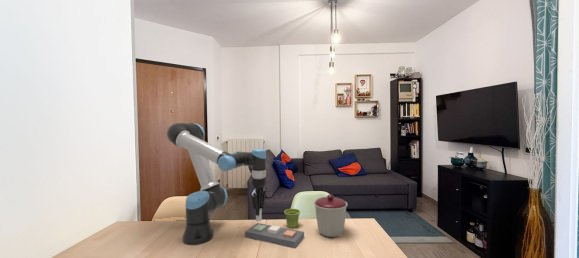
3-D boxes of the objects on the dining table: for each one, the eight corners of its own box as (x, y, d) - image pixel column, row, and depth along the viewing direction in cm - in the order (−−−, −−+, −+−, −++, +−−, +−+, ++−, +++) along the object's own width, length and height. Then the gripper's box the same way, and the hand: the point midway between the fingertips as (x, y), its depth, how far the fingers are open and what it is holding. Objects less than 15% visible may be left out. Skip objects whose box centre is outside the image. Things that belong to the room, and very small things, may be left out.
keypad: (245, 237, 126) (245, 231, 126) (257, 228, 137) (257, 222, 137) (295, 248, 114) (294, 242, 114) (304, 237, 124) (304, 231, 124)
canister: (343, 225, 138) (342, 189, 138) (352, 240, 120) (351, 199, 120) (312, 226, 138) (311, 190, 138) (316, 241, 120) (316, 200, 120)
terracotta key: (283, 239, 120) (283, 233, 120) (287, 235, 125) (287, 229, 125) (292, 241, 118) (292, 235, 118) (296, 236, 123) (296, 231, 123)
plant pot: (299, 230, 133) (298, 214, 133) (282, 228, 135) (282, 213, 135) (301, 223, 142) (301, 209, 142) (286, 222, 144) (286, 208, 144)
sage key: (253, 233, 128) (253, 227, 128) (258, 229, 132) (258, 224, 132) (261, 234, 126) (261, 229, 126) (266, 230, 130) (266, 225, 130)
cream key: (267, 234, 124) (267, 228, 124) (272, 230, 128) (272, 225, 128) (276, 236, 122) (276, 230, 122) (280, 232, 126) (280, 226, 126)
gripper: (258, 180, 121) (258, 226, 122) (270, 175, 133) (270, 217, 133) (246, 179, 124) (246, 223, 125) (259, 174, 136) (259, 215, 137)
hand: (258, 220), depth 129 cm, fingers closed
